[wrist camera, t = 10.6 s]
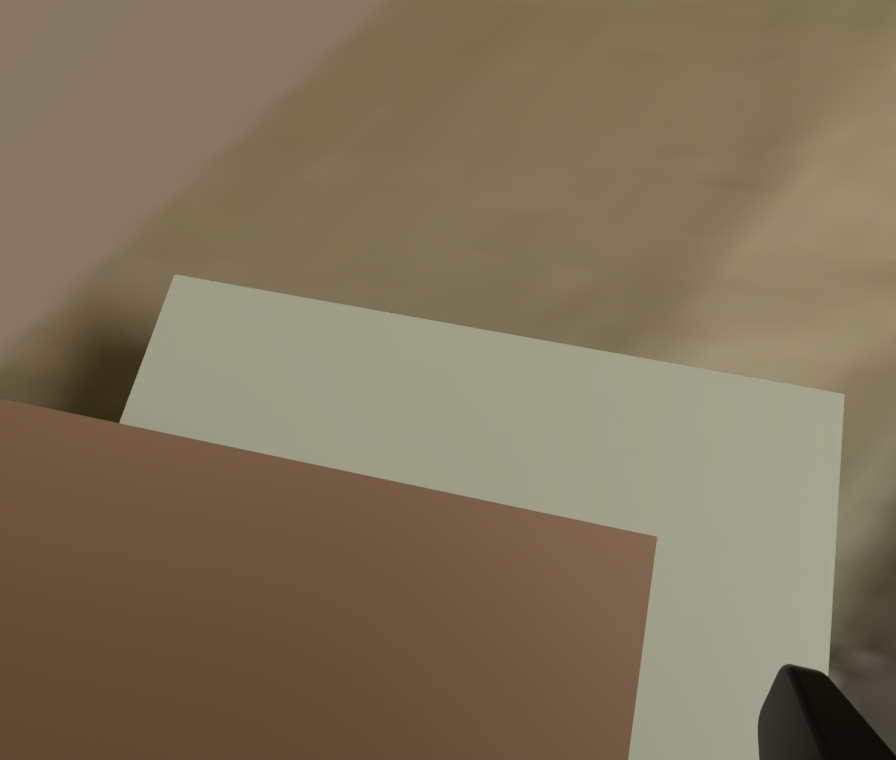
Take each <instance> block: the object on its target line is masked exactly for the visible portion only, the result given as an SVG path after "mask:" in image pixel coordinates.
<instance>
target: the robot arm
mask: <svg viewBox="0 0 896 760" xmlns="http://www.w3.org/2000/svg"><path fill="white" fill-rule="evenodd" d="M758 748H759V760H896V755H895V754H894V753H893V752H892V751H891V750H890V748H889V747H888V746H887V745H886V744H885V743H884V741H883V740H882V739H881V738H880V737H879V736H878V734H877V733H876V732H875V731H874V730H873V729H872V727H871V726H870V725H869V724H868V723H867V722H866V720H865V719H864V718H863V717H862V716H861V715H860V713H859V712H858V711H857V710H856V709H855V708H854V706H853V705H852V704H851V703H850V702H849V701H848V699H847V698H846V697H845V696H844V695H843V694H842V692H841V691H840V690H839V689H838V688H837V687H836V685H835V684H834V683H833V682H832V681H831V680H830V678H829V677H828V676H827V675H825V674H824V673H823V672H821V671H818V670H815V669H811V668H806V667H802V666H798V665H793V664H785V665H783V666H782V667H781V668H780V670H779V671H778V673H777V675H776V677H775V679H774V682H773V684H772V686H771V688H770V690H769V693H768V695H767V697H766V699H765V701H764V703H763V706H762V708H761V710H760V714H759V719H758Z"/></svg>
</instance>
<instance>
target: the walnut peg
mask: <svg viewBox="0 0 896 760" xmlns="http://www.w3.org/2000/svg"><path fill="white" fill-rule="evenodd" d="M656 543H657V537H656V536H652V535H647V534H642V533H637V532H633V531H628V530H623V529H618V528H614V527H609V526H604V525H599V524H595V523H590V522H585V521H580V520H576V519H571V518H566V517H561V516H557V515H552V514H547V513H542V512H538V511H533V510H528V509H523V508H519V507H514V506H509V505H505V504H500V503H495V502H490V501H486V500H481V499H476V498H471V497H467V496H462V495H457V494H452V493H448V492H443V491H438V490H433V489H429V488H424V487H419V486H414V485H410V484H405V483H400V482H395V481H391V480H386V479H381V478H376V477H372V476H367V475H362V474H357V473H353V472H348V471H343V470H339V469H334V468H329V467H324V466H320V465H315V464H310V463H305V462H301V461H296V460H291V459H286V458H282V457H277V456H272V455H267V454H263V453H258V452H253V451H248V450H244V449H239V448H234V447H229V446H225V445H220V444H215V443H210V442H206V441H201V440H196V439H191V438H187V437H182V436H177V435H173V434H168V433H163V432H158V431H154V430H149V429H144V428H139V427H135V426H130V425H125V424H120V423H116V422H111V421H106V420H101V419H97V418H92V417H87V416H82V415H78V414H73V413H68V412H63V411H59V410H54V409H49V408H44V407H40V406H35V405H30V404H25V403H21V402H16V401H11V400H6V399H2V398H0V760H628V757H629V749H630V742H631V734H632V726H633V719H634V711H635V703H636V696H637V688H638V680H639V673H640V665H641V657H642V650H643V642H644V635H645V627H646V619H647V612H648V604H649V596H650V589H651V581H652V573H653V566H654V558H655V550H656Z"/></svg>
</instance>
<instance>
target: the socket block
mask: <svg viewBox="0 0 896 760" xmlns="http://www.w3.org/2000/svg"><path fill="white" fill-rule="evenodd" d="M844 395H845V394H841V393H835V392H829V391H824V390H818V389H813V388H807V387H801V386H796V385H790V384H785V383H779V382H773V381H768V380H762V379H757V378H751V377H746V376H740V375H734V374H729V373H723V372H718V371H712V370H706V369H701V368H695V367H690V366H684V365H678V364H673V363H667V362H662V361H656V360H650V359H645V358H639V357H634V356H628V355H623V354H617V353H611V352H606V351H600V350H595V349H589V348H583V347H578V346H572V345H567V344H561V343H555V342H550V341H544V340H539V339H533V338H527V337H522V336H516V335H511V334H505V333H499V332H494V331H488V330H483V329H477V328H472V327H466V326H460V325H455V324H449V323H444V322H438V321H432V320H427V319H421V318H416V317H410V316H404V315H399V314H393V313H388V312H382V311H376V310H371V309H365V308H360V307H354V306H349V305H343V304H337V303H332V302H326V301H321V300H315V299H309V298H304V297H298V296H293V295H287V294H281V293H276V292H270V291H265V290H259V289H253V288H248V287H242V286H237V285H231V284H226V283H220V282H214V281H209V280H203V279H198V278H192V277H186V276H181V275H174V278H173V280H172V283H171V286H170V288H169V291H168V294H167V296H166V299H165V302H164V304H163V307H162V310H161V312H160V315H159V318H158V320H157V323H156V326H155V328H154V331H153V334H152V336H151V339H150V342H149V345H148V347H147V350H146V353H145V355H144V358H143V361H142V363H141V366H140V369H139V371H138V374H137V377H136V379H135V382H134V385H133V387H132V390H131V393H130V395H129V398H128V401H127V403H126V406H125V409H124V411H123V414H122V417H121V419H120V422H119V423H120V424H125V425H130V426H135V427H139V428H144V429H149V430H154V431H158V432H163V433H168V434H173V435H177V436H182V437H187V438H191V439H196V440H201V441H206V442H210V443H215V444H220V445H225V446H229V447H234V448H239V449H244V450H248V451H253V452H258V453H263V454H267V455H272V456H277V457H282V458H286V459H291V460H296V461H301V462H305V463H310V464H315V465H320V466H324V467H329V468H334V469H339V470H343V471H348V472H353V473H357V474H362V475H367V476H372V477H376V478H381V479H386V480H391V481H395V482H400V483H405V484H410V485H414V486H419V487H424V488H429V489H433V490H438V491H443V492H448V493H452V494H457V495H462V496H467V497H471V498H476V499H481V500H486V501H490V502H495V503H500V504H505V505H509V506H514V507H519V508H523V509H528V510H533V511H538V512H542V513H547V514H552V515H557V516H561V517H566V518H571V519H576V520H580V521H585V522H590V523H595V524H599V525H604V526H609V527H614V528H618V529H623V530H628V531H633V532H637V533H642V534H647V535H652V536H656V537H657V543H656V550H655V558H654V566H653V573H652V581H651V589H650V596H649V604H648V612H647V619H646V627H645V635H644V642H643V650H642V657H641V665H640V673H639V680H638V688H637V696H636V703H635V711H634V719H633V726H632V734H631V742H630V749H629V757H628V760H759V748H758V719H759V714H760V710H761V708H762V706H763V703H764V701H765V699H766V697H767V695H768V693H769V690H770V688H771V686H772V684H773V682H774V679H775V677H776V675H777V673H778V671H779V670H780V668H781V667H782V666H783V665H785V664H793V665H798V666H802V667H806V668H811V669H815V670H818V671H821V672H823V673H824V674H825V675H827V676H828V669H829V652H830V635H831V618H832V600H833V583H834V566H835V549H836V532H837V515H838V497H839V480H840V463H841V446H842V429H843V412H844Z"/></svg>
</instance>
